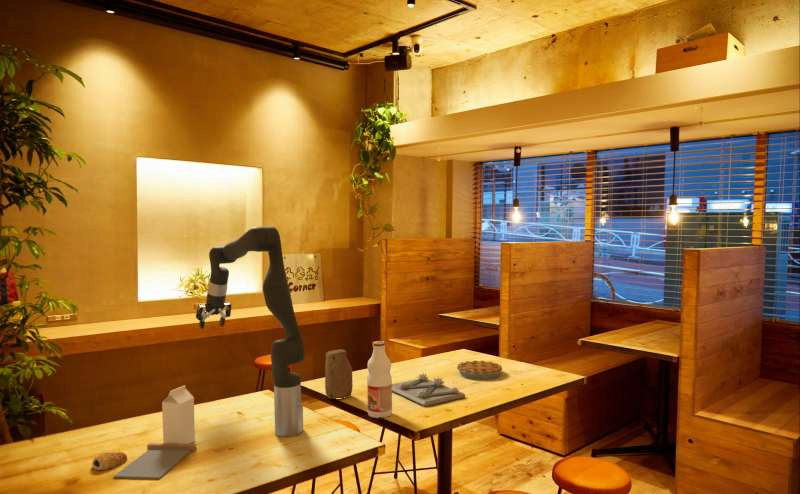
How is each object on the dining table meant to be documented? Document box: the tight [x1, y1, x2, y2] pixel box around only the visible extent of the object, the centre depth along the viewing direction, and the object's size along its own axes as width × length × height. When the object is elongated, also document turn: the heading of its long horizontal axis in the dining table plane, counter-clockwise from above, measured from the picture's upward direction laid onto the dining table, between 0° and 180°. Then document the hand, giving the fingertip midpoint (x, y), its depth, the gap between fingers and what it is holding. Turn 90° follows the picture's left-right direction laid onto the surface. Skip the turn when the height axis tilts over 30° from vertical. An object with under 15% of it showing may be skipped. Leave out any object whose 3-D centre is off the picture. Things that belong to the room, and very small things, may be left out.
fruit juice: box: [366, 340, 393, 419], centre depth 210 cm, size 9×9×28 cm
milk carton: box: [161, 385, 196, 444], centre depth 184 cm, size 7×7×19 cm
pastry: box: [91, 451, 128, 471], centre depth 170 cm, size 9×7×4 cm
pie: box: [456, 360, 503, 380], centre depth 266 cm, size 22×22×5 cm
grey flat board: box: [113, 442, 197, 480], centre depth 170 cm, size 16×21×2 cm
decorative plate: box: [392, 372, 466, 407], centre depth 236 cm, size 30×22×7 cm
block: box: [324, 349, 353, 400], centre depth 232 cm, size 11×8×20 cm
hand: (211, 326), depth 232 cm, fingers open, 8 cm apart
